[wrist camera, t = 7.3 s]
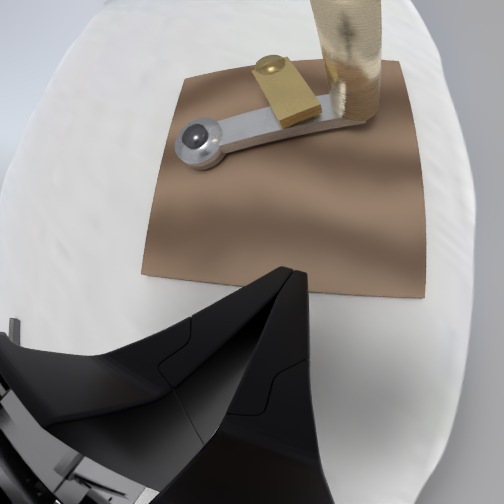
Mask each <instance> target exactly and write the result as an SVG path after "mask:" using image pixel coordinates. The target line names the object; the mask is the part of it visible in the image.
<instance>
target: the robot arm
mask: <svg viewBox="0 0 504 504" xmlns="http://www.w3.org/2000/svg"><path fill="white" fill-rule="evenodd" d="M309 359H310V329H309V294H308V274H307V273H306V272H303V271H299V270H293V269H292V268H288V267H284V266H280V267H278V268H276V269H274V270H272V271H271V272H269V273H267V274H265V275H264V276H262V277H260V278H258V279H257V280H255V281H253V282H251V283H250V284H248V285H246V286H244V287H242V288H241V289H239V290H237V291H235V292H233V293H232V294H230V295H228V296H226V297H225V298H223V299H221V300H219V301H217V302H215V303H214V304H212V305H210V306H208V307H206V308H205V309H203V310H201V311H199V312H197V313H195V314H194V315H192V316H191V317H188V318H186V319H184V320H182V321H180V322H179V323H177V324H175V325H173V326H171V327H169V328H167V329H165V330H163V331H160V332H158V333H156V334H153V335H151V336H149V337H146V338H144V339H141V340H139V341H137V342H134V343H131V344H129V345H126V346H124V347H121V348H119V349H116V350H114V351H111V352H108V353H105V354H101V355H94V356H83V355H73V354H64V353H56V352H48V351H41V350H34V349H29V348H24V347H21V346H18V345H16V344H15V343H13V342H12V341H11V340H10V338H9V337H8V336H7V334H6V333H5V332H0V504H58V503H57V502H55V501H56V500H58V501H59V502H60V503H61V504H134V503H135V502H136V500H137V499H138V497H139V496H140V495H141V493H142V492H143V491H144V489H145V488H146V487H148V488H151V489H153V490H156V491H158V492H160V493H159V494H158V495H157V496H156V497H155V498H154V499H153V500H152V501H151V502H150V503H149V504H335V503H334V500H333V497H332V495H331V492H330V489H329V487H328V484H327V481H326V478H325V476H324V472H323V469H322V465H321V460H320V455H319V448H318V441H317V434H316V427H315V420H314V413H313V406H312V397H311V385H310V360H309ZM220 423H221V424H220ZM219 425H220V426H219ZM218 426H219V427H218ZM217 428H218V429H217ZM216 429H217V431H216ZM215 431H216V432H215ZM214 432H215V434H214ZM213 434H214V435H213ZM212 435H213V436H212ZM210 438H211V439H210Z"/></svg>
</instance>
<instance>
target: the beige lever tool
mask: <svg viewBox="0 0 504 504" xmlns="http://www.w3.org/2000/svg"><path fill="white" fill-rule="evenodd" d="M310 2H311V6H312V10H313V14H314V19H315V23H316V27H317V32H318V36H319V41H320V45H321V50H322V55H323V61H324V66H325V71H326V77H327V83H328V89H329V94H326V95H320V96H316V98H317V99H318V101H319V102H320V104H321V108H322V113H321V114H318V115H316V116H313V117H310V118H308V119H305V120H303V121H300V122H298V123H295V124H293V125H290V126H288V127H286V128H283V129H282V127H281V125H280V123H279V121H278V120H277V118H276V116H275V114H274V112H273V110H272V108H271V106H270V107H266V108H262V109H258V110H254V111H251V112H247V113H243V114H240V115H237V116H233V117H230V118H227V119H223V120H220V121H216V120H214V119H212V118H207V117H204V118H198V119H195V120H193V121H191V122H190V123H188V124H187V125H186V126H185V127H184V128H183V129H182V130H181V131H180V132H179V134H178V136H177V138H176V141H175V152H176V154H177V156H178V157H179V158H180V159H181V160H182V161H184V162H185V163H186V164H187V165H188V166H189V167H191V168H193V169H195V170H205V169H208V168H211V167H213V166H215V165H216V164H217V163H219V162H220V161H221V160H222V159H223V157H224V156H225V154H226V153H229V152H232V151H236V150H240V149H244V148H247V147H251V146H255V145H259V144H263V143H267V142H271V141H276V140H280V139H284V138H289V137H293V136H298V135H303V134H308V133H313V132H318V131H323V130H329V129H334V128H340V127H346V126H352V125H358V124H365V123H366V120H367V119H370V118H371V117H373V116H374V115H375V114H376V113H377V111H378V108H379V96H380V80H381V50H382V25H381V0H310Z"/></svg>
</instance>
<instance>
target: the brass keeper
mask: <svg viewBox="0 0 504 504" xmlns="http://www.w3.org/2000/svg"><path fill="white" fill-rule="evenodd" d="M252 73H253V75H254V77H255V79H256V81H257V83H258V84H259V86H260V88H261V90H262V92H263V93H264V95H265V97H266V99H267V101H268V103H269V104H270V106H271V108H272V110H273V112H274V114H275V116H276V118H277V120H278V121H279V123H280V125H281V127H282V129H283V128H286V127H288V126H290V125H293V124H295V123H298V122H300V121H303V120H305V119H308V118H310V117H313V116H316V115H318V114H321V113H322V108H321V104H320V102H319V101H318V99H317V98H316V96H315V95H314V93H313V92H312V90H311V89H310V87H309V86H308V85H307V83H306V82H305V80H304V79H303V77H302V76H301V75H300V73H299V72H298V71H297V69H296V68H295V66H294V65H293V64H292V62H291V61H290V60H289V58H288V57H285V58H283V57H281V56H278V55H269V56H265V57H263V58H261V59H260V60H259V61H258V62H257V63H256V65H255V70H252Z"/></svg>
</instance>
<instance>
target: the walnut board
mask: <svg viewBox="0 0 504 504" xmlns="http://www.w3.org/2000/svg"><path fill="white" fill-rule="evenodd" d="M291 62H292V64H293V65H294V66H295V68H296V69H297V71H298V72H299V73H300V75H301V76H302V77H303V79H304V80H305V82H306V83H307V85H308V86H309V87H310V89H311V90H312V92H313V93H314V95H315V96H320V95H326V94H329V89H328V83H327V77H326V71H325V66H324V61H323V59H318V60H300V61H291ZM252 70H255V65H253V66H246V67H240V68H234V69H228V70H223V71H218V72H213V73H208V74H204V75H199V76H195V77H191V78H187V79H185V80H184V83H183V86H182V89H181V92H180V96H179V99H178V102H177V105H176V109H175V112H174V116H173V119H172V123H171V126H170V130H169V134H168V138H167V141H166V145H165V149H164V153H163V157H162V162H161V166H160V170H159V174H158V179H157V184H156V188H155V193H154V198H153V203H152V208H151V213H150V219H149V224H148V230H147V236H146V242H145V249H144V255H143V262H142V270H141V274H142V275H148V276H156V277H164V278H173V279H181V280H190V281H199V282H208V283H217V284H227V285H237V286H246V285H248V284H250V283H251V282H253V281H255V280H257V279H258V278H260V277H262V276H264V275H265V274H267V273H269V272H271V271H272V270H274V269H276V268H278V267H280V266H284V267H288V268H292V269H293V270H299V271H303V272H306V273H307V274H308V292H318V293H332V294H347V295H364V296H382V297H402V298H425V284H426V219H425V202H424V190H423V180H422V171H421V163H420V155H419V148H418V142H417V136H416V130H415V125H414V120H413V115H412V110H411V106H410V101H409V97H408V93H407V89H406V85H405V81H404V77H403V74H402V70H401V67H400V63H399V61H388V60H381V80H380V96H379V108H378V111H377V113H376V114H375V115H374V116H373V117H371V118H370V119H367V120H366V123H365V124H358V125H352V126H346V127H340V128H334V129H329V130H323V131H318V132H313V133H308V134H303V135H298V136H293V137H289V138H284V139H280V140H276V141H271V142H267V143H263V144H259V145H255V146H251V147H247V148H244V149H240V150H236V151H232V152H229V153H226V154H225V156H224V157H223V159H222V160H221V161H220V162H219V163H217V164H216V165H215V166H213V167H211V168H208V169H205V170H195V169H193V168H191V167H189V166H188V165H187V164H186V163H185V162H184V161H182V160H181V159H180V158H179V157H178V156H177V154H176V152H175V141H176V138H177V136H178V134H179V132H180V131H181V130H182V129H183V128H184V127H185V126H186V125H187V124H188V123H190V122H191V121H193V120H195V119H198V118H204V117H207V118H212V119H214V120H216V121H220V120H223V119H227V118H230V117H233V116H237V115H240V114H243V113H247V112H251V111H254V110H258V109H262V108H266V107H270V104H269V103H268V101H267V99H266V97H265V95H264V93H263V92H262V90H261V88H260V86H259V84H258V83H257V81H256V79H255V77H254V75H253V73H252Z"/></svg>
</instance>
